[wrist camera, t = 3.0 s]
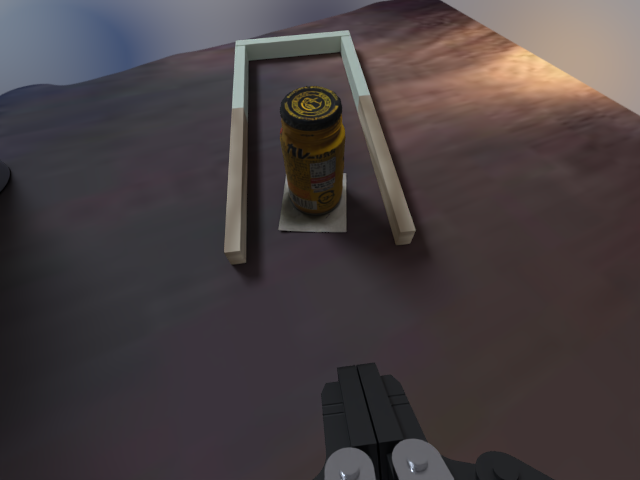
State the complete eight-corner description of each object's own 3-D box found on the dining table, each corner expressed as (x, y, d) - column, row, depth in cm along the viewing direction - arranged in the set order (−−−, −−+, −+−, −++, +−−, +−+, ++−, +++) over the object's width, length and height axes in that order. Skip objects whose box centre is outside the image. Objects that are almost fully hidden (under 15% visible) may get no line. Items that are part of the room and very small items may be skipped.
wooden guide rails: (231, 264, 31) (224, 252, 29) (237, 124, 43) (232, 108, 40) (410, 243, 32) (415, 230, 30) (368, 111, 43) (370, 94, 41)
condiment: (346, 174, 37) (351, 78, 27) (346, 233, 33) (353, 144, 23) (286, 174, 38) (269, 79, 27) (278, 231, 33) (255, 144, 23)
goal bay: (237, 124, 43) (232, 108, 40) (239, 56, 52) (235, 40, 50) (368, 111, 43) (370, 94, 41) (347, 46, 52) (348, 30, 50)
